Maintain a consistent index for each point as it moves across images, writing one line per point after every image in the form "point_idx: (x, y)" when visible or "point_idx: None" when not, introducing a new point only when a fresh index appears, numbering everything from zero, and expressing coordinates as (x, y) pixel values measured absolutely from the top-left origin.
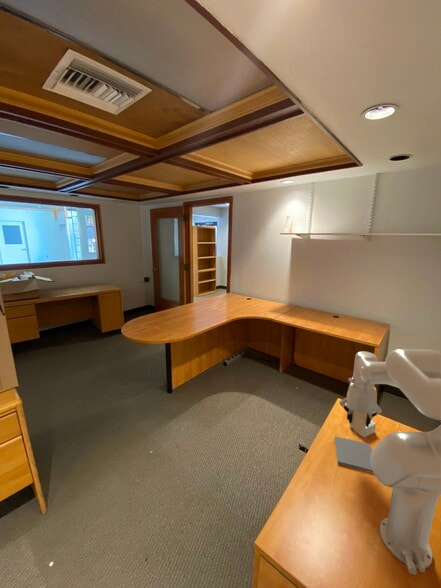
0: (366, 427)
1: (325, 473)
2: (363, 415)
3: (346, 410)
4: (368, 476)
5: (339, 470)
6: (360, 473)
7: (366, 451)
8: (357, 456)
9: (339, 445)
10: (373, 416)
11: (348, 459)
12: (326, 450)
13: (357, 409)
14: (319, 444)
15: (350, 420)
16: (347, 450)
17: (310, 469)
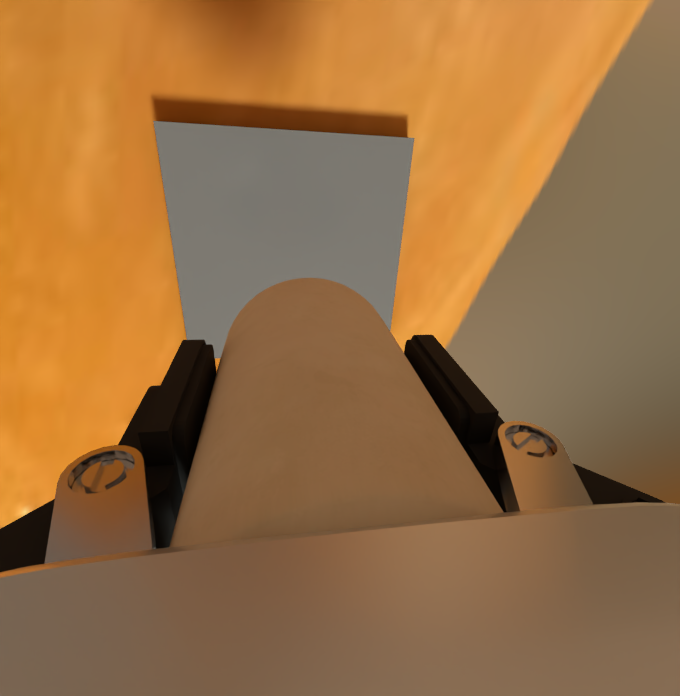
0: None
1: (508, 13)
2: (281, 445)
3: (586, 479)
4: (222, 77)
5: (408, 76)
6: (273, 91)
7: (215, 290)
8: (278, 226)
9: (374, 287)
10: (35, 513)
11: (341, 178)
12: (450, 235)
13: (558, 581)
14: (479, 271)
15: (440, 354)
16: (333, 260)
17: (597, 22)
